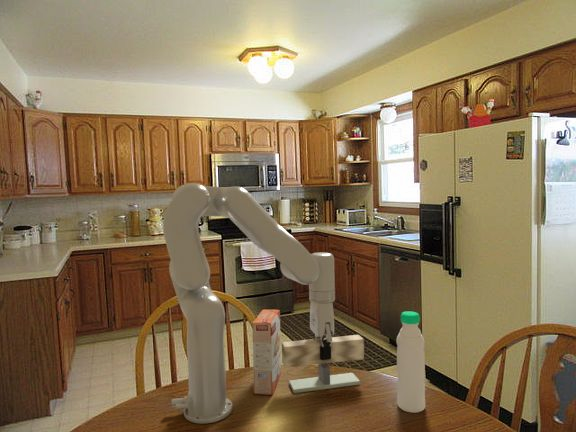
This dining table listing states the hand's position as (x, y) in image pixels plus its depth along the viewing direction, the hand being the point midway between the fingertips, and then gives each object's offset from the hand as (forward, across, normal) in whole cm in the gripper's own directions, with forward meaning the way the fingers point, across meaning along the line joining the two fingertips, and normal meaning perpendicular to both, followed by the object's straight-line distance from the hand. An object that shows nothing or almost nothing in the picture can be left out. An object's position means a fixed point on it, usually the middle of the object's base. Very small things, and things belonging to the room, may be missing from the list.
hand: (323, 355), depth 122 cm
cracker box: (+9, -4, -16) cm, 19 cm away
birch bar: (+1, 0, 0) cm, 1 cm away
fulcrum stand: (+9, 0, 0) cm, 9 cm away
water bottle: (+9, +18, +18) cm, 27 cm away
